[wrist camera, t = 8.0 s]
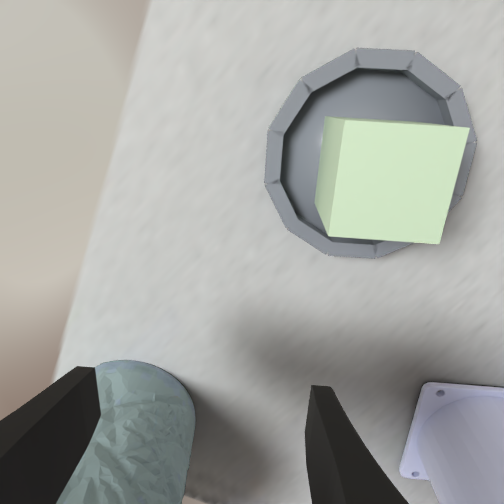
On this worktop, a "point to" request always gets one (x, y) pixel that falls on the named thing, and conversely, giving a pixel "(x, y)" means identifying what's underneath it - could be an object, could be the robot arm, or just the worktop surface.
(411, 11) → the worktop surface
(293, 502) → the worktop surface
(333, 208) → the block
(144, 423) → the teal plant pot
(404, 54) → the dish
